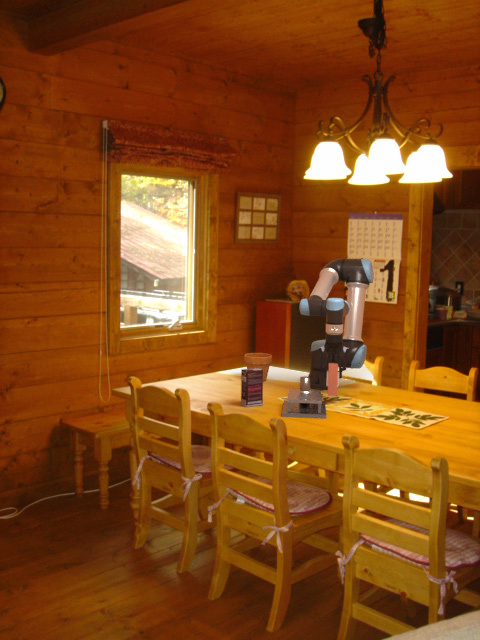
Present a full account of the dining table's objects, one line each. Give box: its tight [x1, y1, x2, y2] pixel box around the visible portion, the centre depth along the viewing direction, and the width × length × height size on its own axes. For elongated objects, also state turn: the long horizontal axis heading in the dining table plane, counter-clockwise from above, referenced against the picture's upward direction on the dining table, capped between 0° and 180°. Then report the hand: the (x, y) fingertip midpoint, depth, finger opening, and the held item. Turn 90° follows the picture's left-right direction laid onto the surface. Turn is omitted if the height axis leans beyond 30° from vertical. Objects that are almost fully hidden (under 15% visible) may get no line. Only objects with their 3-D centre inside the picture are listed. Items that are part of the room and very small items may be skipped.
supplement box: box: [240, 368, 264, 408], centre depth 315 cm, size 9×5×16 cm, turn 121°
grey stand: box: [281, 375, 327, 419], centre depth 308 cm, size 18×24×13 cm
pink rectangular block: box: [327, 363, 339, 397], centre depth 322 cm, size 4×4×14 cm
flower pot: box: [243, 352, 273, 382], centre depth 372 cm, size 14×14×13 cm
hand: (332, 385), depth 322 cm, fingers closed on pink rectangular block, 4 cm apart
